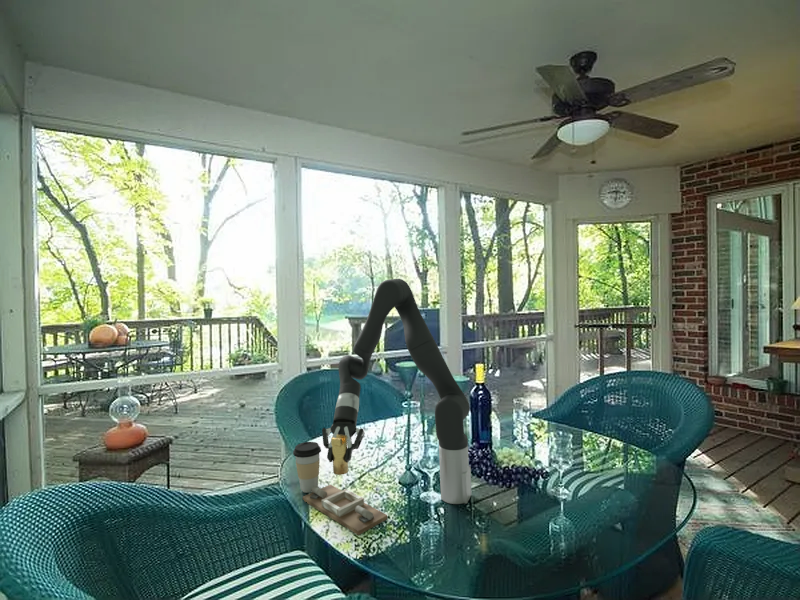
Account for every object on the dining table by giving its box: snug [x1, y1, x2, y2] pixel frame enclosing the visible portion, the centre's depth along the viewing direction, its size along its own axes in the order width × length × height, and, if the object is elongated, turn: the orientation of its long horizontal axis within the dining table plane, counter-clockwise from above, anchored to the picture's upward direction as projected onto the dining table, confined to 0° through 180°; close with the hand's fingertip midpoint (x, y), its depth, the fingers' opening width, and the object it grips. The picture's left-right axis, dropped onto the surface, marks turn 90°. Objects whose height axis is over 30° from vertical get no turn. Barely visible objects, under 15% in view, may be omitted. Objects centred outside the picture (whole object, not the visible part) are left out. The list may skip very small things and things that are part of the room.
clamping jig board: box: [302, 484, 388, 536], centre depth 140 cm, size 29×11×4 cm, turn 44°
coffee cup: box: [292, 441, 322, 494], centre depth 154 cm, size 9×9×15 cm
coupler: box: [330, 434, 349, 476], centre depth 139 cm, size 5×5×11 cm
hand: (338, 461), depth 137 cm, fingers closed on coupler, 4 cm apart
